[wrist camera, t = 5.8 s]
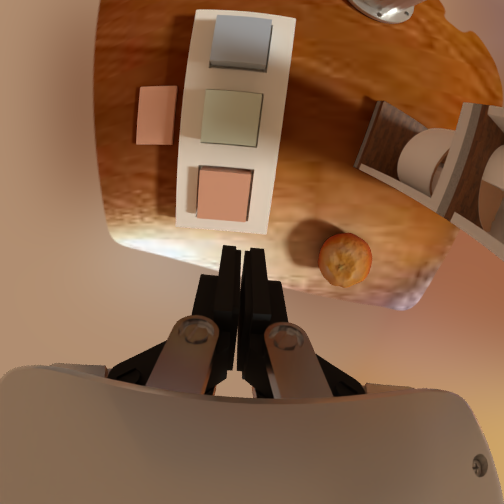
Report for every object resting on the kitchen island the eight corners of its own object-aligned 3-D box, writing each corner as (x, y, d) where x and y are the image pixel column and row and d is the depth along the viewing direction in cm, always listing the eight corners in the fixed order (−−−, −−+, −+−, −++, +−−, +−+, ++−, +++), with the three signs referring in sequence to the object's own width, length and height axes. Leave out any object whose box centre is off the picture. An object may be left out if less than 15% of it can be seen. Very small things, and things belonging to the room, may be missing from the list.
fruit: (365, 277, 43) (358, 301, 36) (322, 262, 46) (307, 282, 39) (381, 233, 39) (377, 250, 32) (334, 217, 42) (321, 231, 35)
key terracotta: (203, 165, 33) (199, 170, 31) (250, 169, 34) (251, 174, 31) (200, 209, 36) (197, 218, 33) (245, 213, 37) (245, 222, 34)
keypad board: (199, 17, 25) (196, 9, 22) (291, 26, 26) (295, 18, 23) (180, 218, 38) (175, 226, 35) (264, 225, 39) (266, 234, 36)
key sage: (209, 92, 28) (205, 89, 25) (260, 96, 28) (262, 94, 26) (204, 139, 31) (200, 142, 28) (254, 144, 31) (255, 146, 28)
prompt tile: (142, 87, 29) (140, 86, 28) (178, 86, 30) (176, 85, 29) (138, 143, 33) (136, 144, 32) (172, 144, 33) (171, 144, 33)
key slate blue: (219, 23, 24) (217, 14, 21) (269, 28, 24) (272, 19, 21) (212, 65, 26) (209, 60, 24) (263, 70, 27) (265, 64, 24)
